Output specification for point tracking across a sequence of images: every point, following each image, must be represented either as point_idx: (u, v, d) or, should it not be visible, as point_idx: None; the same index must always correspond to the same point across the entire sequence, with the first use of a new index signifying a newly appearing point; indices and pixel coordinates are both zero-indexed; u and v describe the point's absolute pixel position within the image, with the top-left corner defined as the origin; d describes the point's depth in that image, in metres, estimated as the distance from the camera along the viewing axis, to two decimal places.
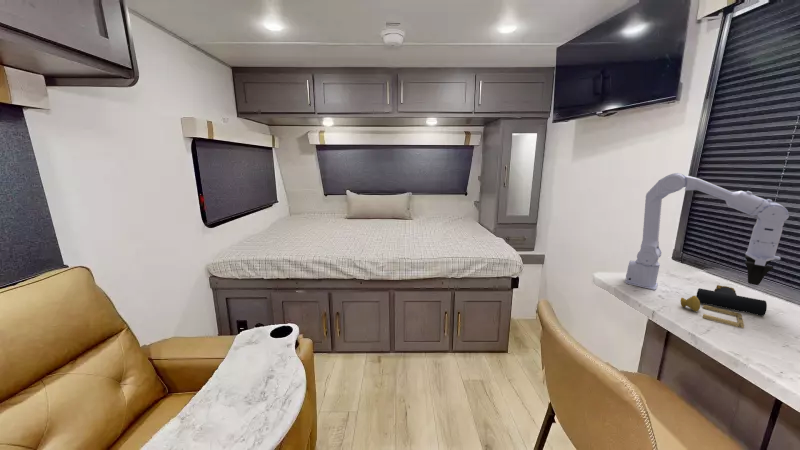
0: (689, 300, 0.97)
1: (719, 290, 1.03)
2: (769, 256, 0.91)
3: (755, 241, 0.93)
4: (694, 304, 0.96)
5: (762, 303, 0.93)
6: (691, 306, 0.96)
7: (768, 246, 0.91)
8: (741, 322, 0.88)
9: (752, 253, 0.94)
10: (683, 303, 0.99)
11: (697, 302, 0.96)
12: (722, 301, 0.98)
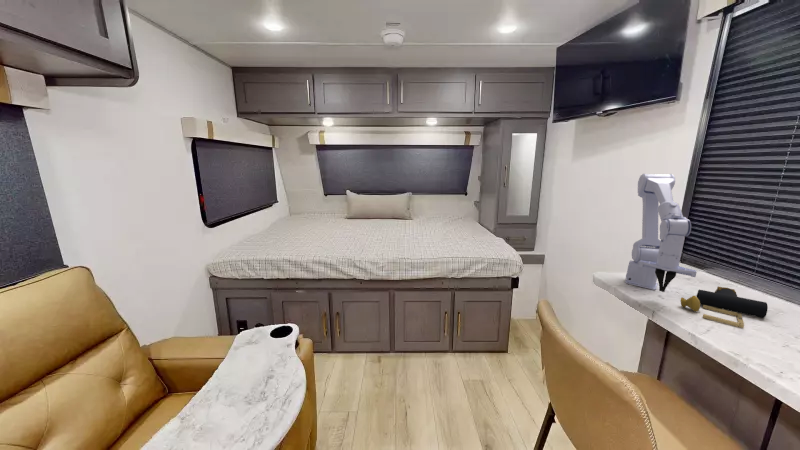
0: (689, 300, 0.97)
1: (719, 291, 1.02)
2: (657, 264, 1.01)
3: None
4: (694, 304, 0.96)
5: (763, 305, 0.92)
6: (691, 306, 0.96)
7: (658, 255, 1.01)
8: (741, 322, 0.88)
9: None
10: (683, 303, 0.99)
11: (697, 302, 0.96)
12: (722, 302, 0.97)
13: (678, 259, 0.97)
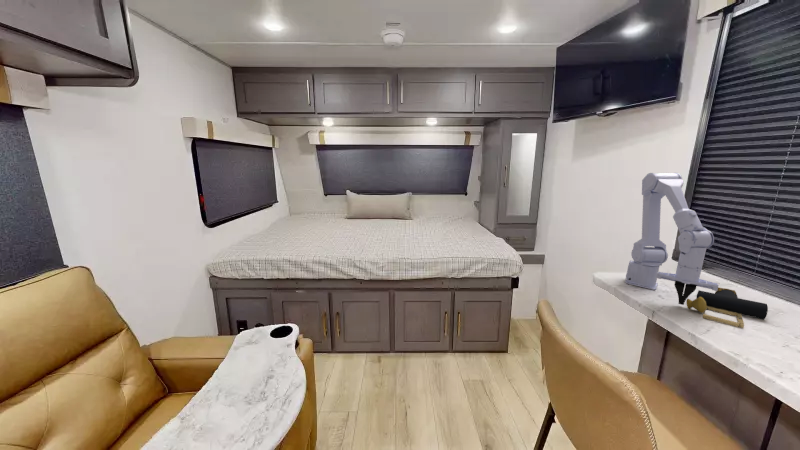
0: (695, 301, 0.96)
1: (720, 292, 1.01)
2: (677, 277, 0.98)
3: None
4: (700, 305, 0.95)
5: (763, 306, 0.91)
6: (697, 307, 0.95)
7: (677, 267, 0.98)
8: (741, 322, 0.88)
9: None
10: (689, 305, 0.98)
11: (703, 303, 0.95)
12: (722, 304, 0.96)
13: (699, 272, 0.94)
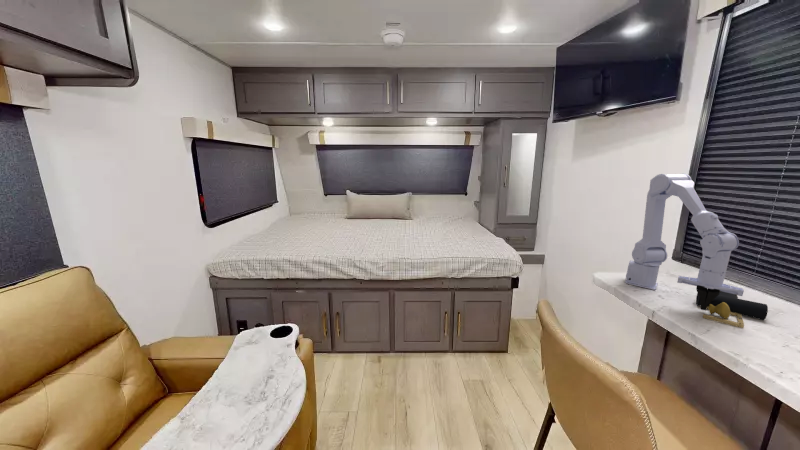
0: (718, 307, 0.92)
1: (720, 293, 1.01)
2: (699, 281, 0.94)
3: None
4: (723, 311, 0.91)
5: (763, 307, 0.91)
6: (720, 313, 0.92)
7: (699, 271, 0.94)
8: (741, 322, 0.88)
9: None
10: (711, 310, 0.94)
11: (727, 309, 0.91)
12: None
13: (723, 276, 0.91)
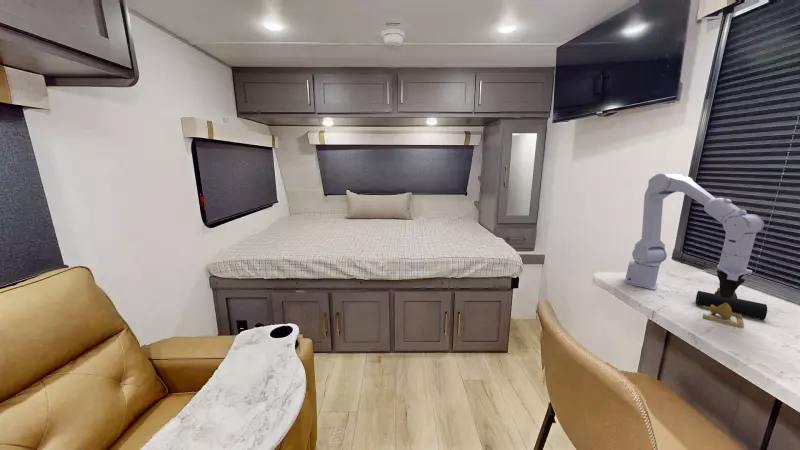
0: (720, 307, 0.92)
1: (719, 293, 1.01)
2: (741, 270, 0.87)
3: (727, 254, 0.89)
4: (725, 312, 0.91)
5: (762, 307, 0.91)
6: (722, 314, 0.91)
7: (740, 260, 0.87)
8: (741, 322, 0.88)
9: (724, 267, 0.89)
10: (713, 311, 0.94)
11: (729, 310, 0.91)
12: None
13: None
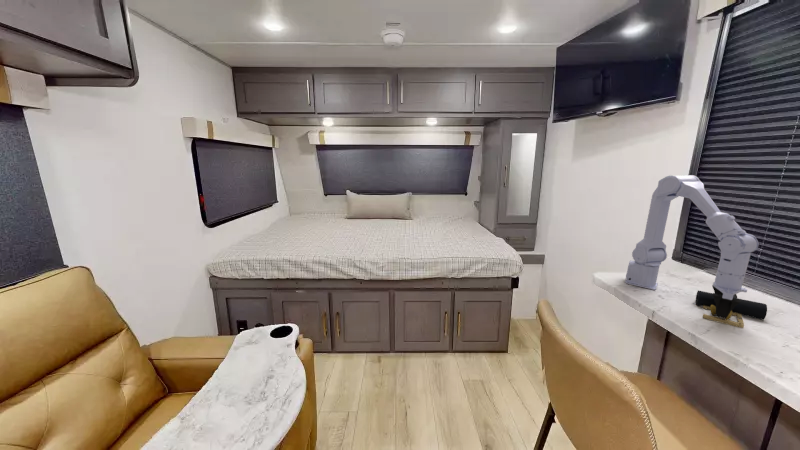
0: None
1: None
2: (736, 289, 0.88)
3: (722, 273, 0.90)
4: None
5: (762, 306, 0.91)
6: None
7: (735, 278, 0.88)
8: (741, 322, 0.88)
9: (719, 285, 0.91)
10: (713, 311, 0.94)
11: None
12: None
13: None
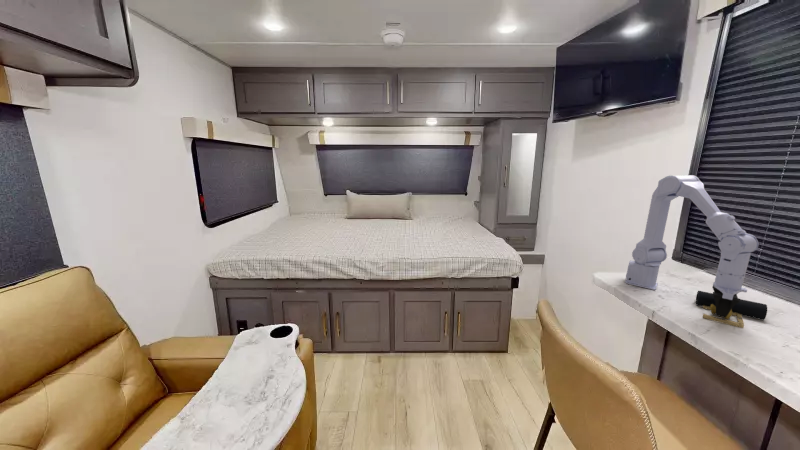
0: None
1: None
2: (736, 289, 0.88)
3: (722, 273, 0.90)
4: None
5: (762, 307, 0.91)
6: None
7: (735, 278, 0.88)
8: (741, 322, 0.88)
9: (719, 285, 0.91)
10: (713, 310, 0.94)
11: None
12: None
13: None
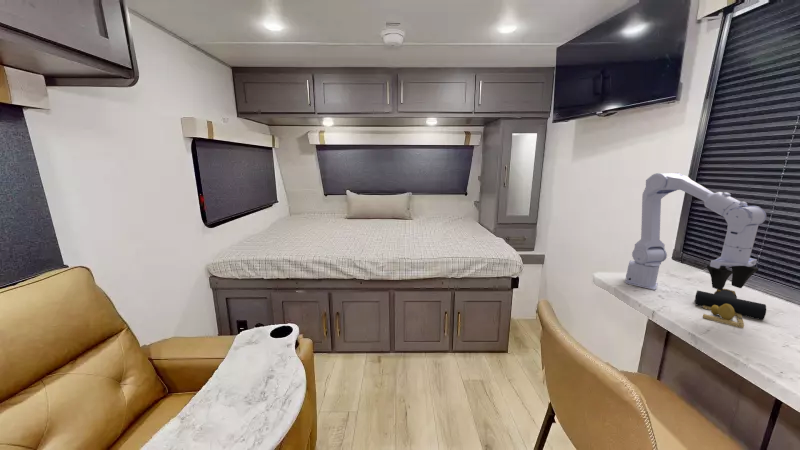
0: (719, 307, 0.92)
1: (719, 293, 1.01)
2: (735, 261, 0.87)
3: (724, 245, 0.90)
4: (722, 311, 0.91)
5: (761, 307, 0.91)
6: (719, 313, 0.92)
7: (733, 250, 0.87)
8: (741, 322, 0.88)
9: (721, 257, 0.91)
10: (713, 310, 0.94)
11: (727, 310, 0.91)
12: (720, 304, 0.96)
13: None
